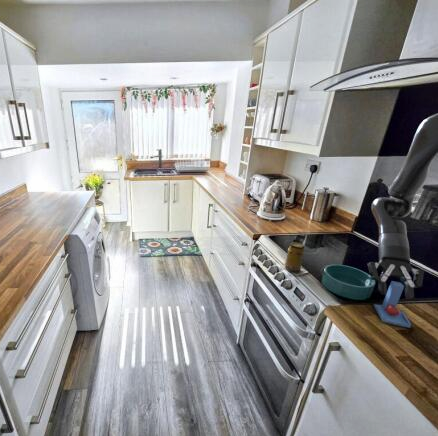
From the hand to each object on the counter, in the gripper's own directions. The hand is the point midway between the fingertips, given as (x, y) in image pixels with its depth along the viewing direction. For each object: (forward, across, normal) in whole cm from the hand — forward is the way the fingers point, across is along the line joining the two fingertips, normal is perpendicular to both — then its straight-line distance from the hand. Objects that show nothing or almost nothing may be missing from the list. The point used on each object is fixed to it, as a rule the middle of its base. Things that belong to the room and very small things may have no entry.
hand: (396, 296), depth 78 cm
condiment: (-7, -27, +18) cm, 33 cm away
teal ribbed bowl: (-3, -10, +13) cm, 16 cm away
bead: (+4, 0, +3) cm, 5 cm away
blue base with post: (+6, 0, +4) cm, 7 cm away
